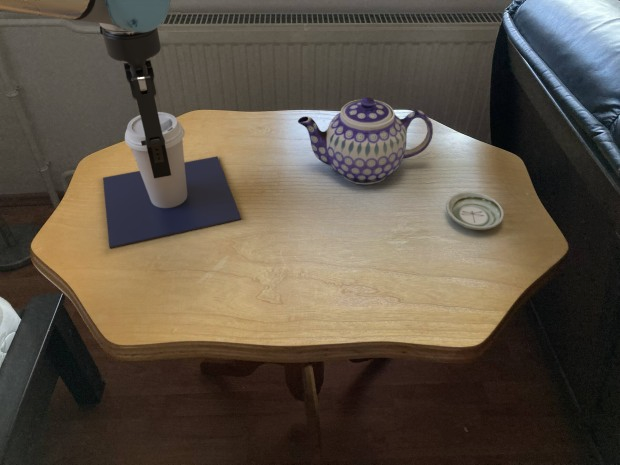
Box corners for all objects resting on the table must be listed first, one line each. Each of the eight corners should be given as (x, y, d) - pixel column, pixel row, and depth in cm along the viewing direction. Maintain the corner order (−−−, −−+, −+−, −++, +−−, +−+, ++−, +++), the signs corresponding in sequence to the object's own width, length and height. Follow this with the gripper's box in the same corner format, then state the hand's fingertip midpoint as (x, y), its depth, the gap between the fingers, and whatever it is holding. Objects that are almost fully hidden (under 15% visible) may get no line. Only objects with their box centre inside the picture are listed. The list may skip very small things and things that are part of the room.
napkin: (109, 248, 83) (109, 246, 83) (103, 179, 97) (102, 177, 97) (241, 219, 89) (241, 218, 89) (217, 157, 103) (217, 156, 102)
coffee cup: (158, 221, 88) (139, 147, 78) (132, 195, 93) (111, 122, 83) (206, 198, 92) (193, 125, 82) (178, 174, 98) (163, 103, 88)
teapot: (420, 147, 106) (432, 79, 96) (434, 193, 95) (449, 121, 84) (298, 147, 106) (298, 78, 96) (298, 193, 94) (297, 121, 84)
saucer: (455, 240, 85) (458, 230, 84) (436, 204, 92) (438, 193, 91) (510, 235, 86) (514, 224, 85) (487, 199, 93) (490, 188, 92)
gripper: (168, 56, 64) (192, 191, 78) (146, -5, 82) (169, 114, 96) (105, 64, 62) (141, 201, 76) (97, 0, 80) (128, 121, 94)
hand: (157, 153), depth 86 cm, fingers open, 13 cm apart
